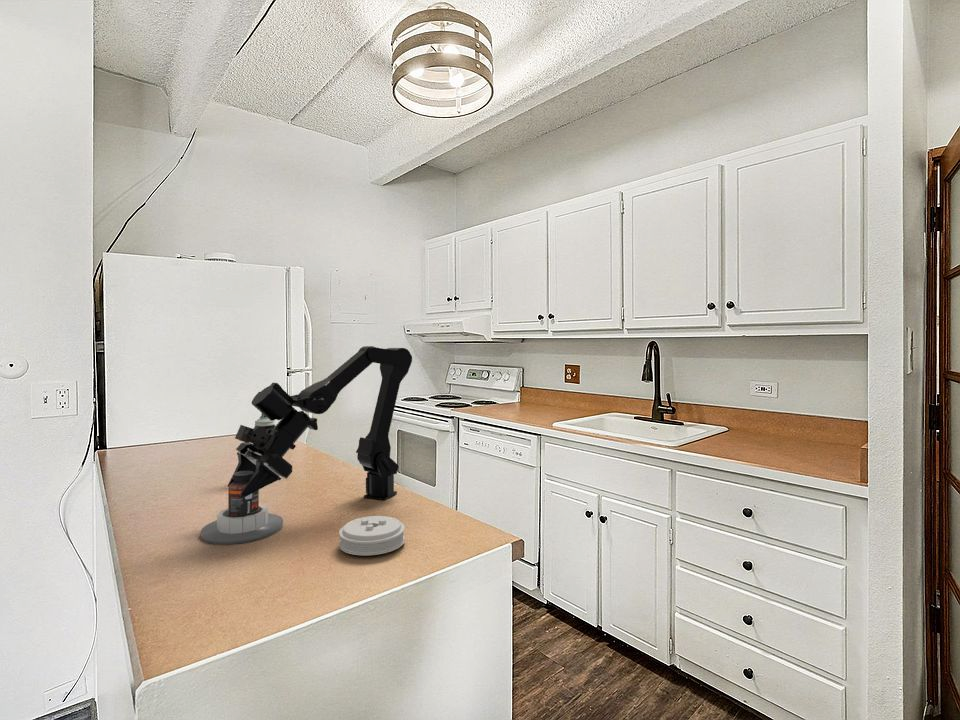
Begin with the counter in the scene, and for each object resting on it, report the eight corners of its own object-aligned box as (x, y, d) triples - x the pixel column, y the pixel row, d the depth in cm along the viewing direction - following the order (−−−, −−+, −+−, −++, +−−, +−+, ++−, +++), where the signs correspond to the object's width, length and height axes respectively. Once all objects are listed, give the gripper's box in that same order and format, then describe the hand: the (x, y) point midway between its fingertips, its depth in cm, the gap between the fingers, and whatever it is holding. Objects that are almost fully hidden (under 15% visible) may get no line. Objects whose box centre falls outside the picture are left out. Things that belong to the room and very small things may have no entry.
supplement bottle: (257, 528, 107) (257, 475, 107) (226, 531, 105) (225, 477, 105) (260, 518, 113) (259, 468, 112) (230, 521, 111) (230, 470, 111)
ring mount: (298, 521, 114) (298, 504, 114) (242, 549, 99) (242, 528, 99) (243, 513, 119) (243, 497, 119) (182, 538, 104) (182, 519, 104)
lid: (350, 534, 107) (349, 511, 106) (409, 535, 106) (409, 511, 106) (330, 560, 94) (329, 533, 94) (398, 561, 93) (397, 534, 93)
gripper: (244, 407, 118) (192, 462, 110) (276, 415, 104) (219, 478, 97) (279, 436, 123) (232, 490, 116) (313, 447, 110) (262, 509, 103)
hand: (235, 491), depth 108 cm, fingers open, 8 cm apart
